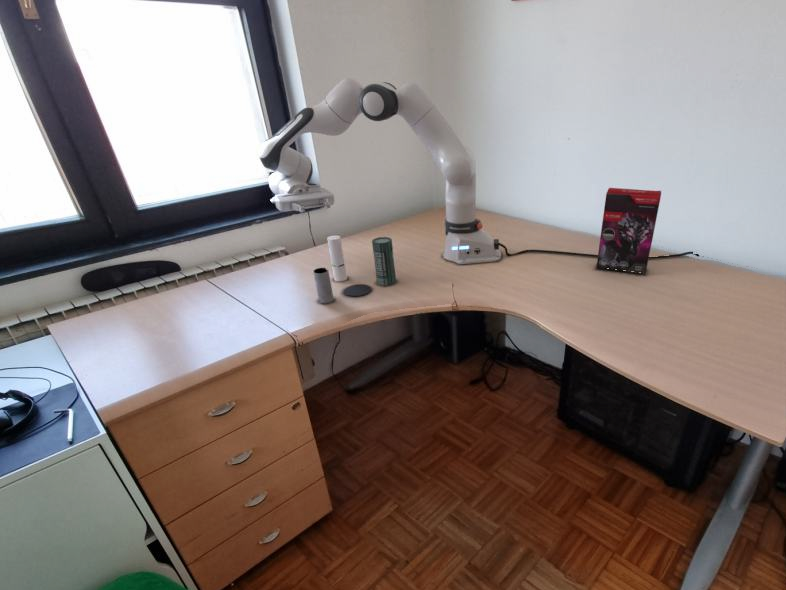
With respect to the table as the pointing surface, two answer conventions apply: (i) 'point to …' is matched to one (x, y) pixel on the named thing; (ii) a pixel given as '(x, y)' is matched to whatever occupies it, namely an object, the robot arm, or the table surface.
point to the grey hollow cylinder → (323, 285)
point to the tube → (337, 258)
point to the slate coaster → (357, 290)
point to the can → (384, 261)
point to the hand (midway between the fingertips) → (315, 207)
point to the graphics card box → (627, 229)
